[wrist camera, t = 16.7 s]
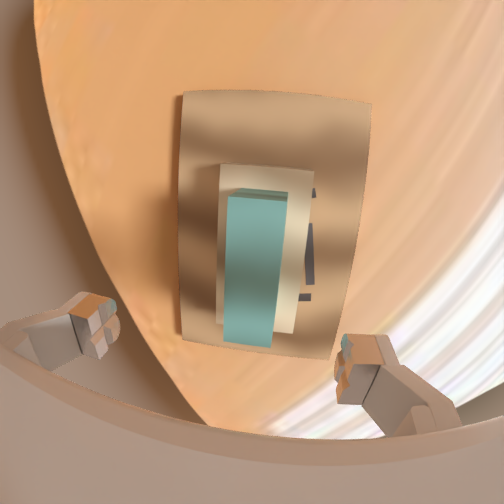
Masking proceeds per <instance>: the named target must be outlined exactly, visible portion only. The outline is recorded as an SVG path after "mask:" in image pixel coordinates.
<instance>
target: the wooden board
mask: <svg viewBox="0 0 504 504" xmlns="http://www.w3.org/2000/svg"><path fill="white" fill-rule="evenodd" d="M371 112H372V104H369V103H364V102H358V101H353V100H347V99H341V98H334V97H327V96H319V95H311V94H302V93H291V92H278V91H259V90H201V91H184V93H183V105H182V118H181V133H180V151H179V177H178V264H179V291H180V310H181V325H182V339H183V340H185V341H190V342H195V343H201V344H206V345H212V346H217V347H223V348H229V349H236V350H242V351H249V352H256V353H264V354H271V355H280V356H289V357H298V358H309V359H321V360H329V358H330V355H331V351H332V348H333V344H334V341H335V337H336V333H337V329H338V325H339V322H340V318H341V314H342V309H343V305H344V301H345V297H346V292H347V288H348V283H349V278H350V274H351V269H352V264H353V259H354V253H355V248H356V242H357V237H358V231H359V225H360V218H361V212H362V205H363V198H364V190H365V182H366V173H367V164H368V154H369V142H370V129H371ZM222 163H243V164H258V165H271V166H282V167H292V168H302V169H311V170H313V171H314V179H313V189H312V199H311V208H310V217H309V225H308V234H307V242H306V249H305V257H304V264H303V271H302V278H301V285H300V292H299V298H298V305H297V311H296V317H295V323H294V329H293V334H291V333H282V332H273V335H272V342H271V348H266V347H259V346H251V345H244V344H237V343H231V342H224V341H223V327H224V325H222V324H216V273H217V233H218V205H219V182H220V164H222Z"/></svg>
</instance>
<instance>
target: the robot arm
mask: <svg viewBox="0 0 504 504" xmlns="http://www.w3.org/2000/svg"><path fill="white" fill-rule="evenodd" d="M116 310H117V307H116V302H115V301H114V300H113V299H111V298H107V297H103V296H99V295H96V294H92V293H88V292H84V291H83V292H79V293H78V294H76V295H75V296H74V297H73V298H71V299H70V300H69V301H68V302H66V303H65V304H64V305H63V306H61V307H60V308H59V309H58V310H56V309H53V310H50V311H46V312H43V313H39V314H35V315H32V316H29V317H25V318H22V319H18V320H15V321H11V322H8V323H7V324H5V325H4V326H3V327H2V328H1V329H0V504H504V415H503V416H500V417H497V418H493V419H490V420H486V421H483V422H479V423H475V424H471V425H466V426H463V425H462V423H461V421H460V418H459V416H458V413H457V411H456V409H455V406H454V404H453V402H452V401H451V400H450V399H449V398H447V397H446V396H445V395H443V394H442V393H441V392H439V391H438V390H437V389H435V388H434V387H433V386H431V385H430V384H429V383H427V382H426V381H425V380H423V379H422V378H421V377H419V376H418V375H417V374H415V373H414V372H413V371H411V370H410V369H409V368H407V367H406V366H405V365H400V364H399V361H398V359H397V356H396V354H395V351H394V349H393V346H392V344H391V342H390V339H389V337H388V336H387V335H374V334H373V335H365V334H344V335H343V337H342V341H341V348H342V350H341V351H340V352H339V353H338V354H337V357H336V361H335V367H334V377H335V380H336V381H337V382H338V385H337V388H336V395H337V403H338V404H350V405H362V407H363V408H364V409H365V411H366V412H367V413H368V414H369V415H370V417H371V418H372V419H373V420H374V421H375V423H376V424H377V425H378V426H379V428H380V429H381V430H382V431H383V432H384V434H385V435H386V436H387V437H388V438H374V439H343V440H336V439H304V438H289V437H278V436H268V435H260V434H252V433H245V432H239V431H233V430H227V429H221V428H216V427H211V426H206V425H201V424H197V423H192V422H188V421H184V420H180V419H176V418H172V417H169V416H165V415H161V414H158V413H155V412H151V411H148V410H145V409H141V408H138V407H135V406H132V405H129V404H126V403H124V402H120V401H118V400H115V399H113V398H110V397H107V396H105V395H102V394H99V393H97V392H95V391H92V390H90V389H87V388H85V387H83V386H80V385H78V384H76V383H74V382H71V381H69V380H67V379H65V378H63V377H61V376H59V375H57V374H55V373H52V372H51V371H53V370H55V369H56V368H58V367H60V366H62V365H64V364H66V363H68V362H70V361H72V360H74V359H75V358H78V357H79V356H81V355H82V354H83V355H86V356H89V357H92V358H95V359H98V360H100V359H101V357H102V356H103V355H104V354H105V352H106V351H107V350H108V345H109V344H111V343H113V342H115V340H116V339H117V338H118V335H119V332H120V322H119V319H118V317H117V316H116V314H115V312H116Z"/></svg>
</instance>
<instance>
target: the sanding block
mask: <svg viewBox="0 0 504 504" xmlns="http://www.w3.org/2000/svg"><path fill="white" fill-rule="evenodd" d="M313 179H314V171H313V170H311V169H302V168H292V167H282V166H271V165H258V164H243V163H222V164H220V182H219V205H218V233H217V273H216V324H222V325H224V327H223V341H224V342H231V343H237V344H244V345H251V346H259V347H266V348H271V342H272V335H273V332H282V333H291V334H293V329H294V323H295V317H296V311H297V305H298V298H299V292H300V285H301V278H302V271H303V264H304V257H305V249H306V242H307V234H308V225H309V217H310V208H311V199H312V189H313Z"/></svg>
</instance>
